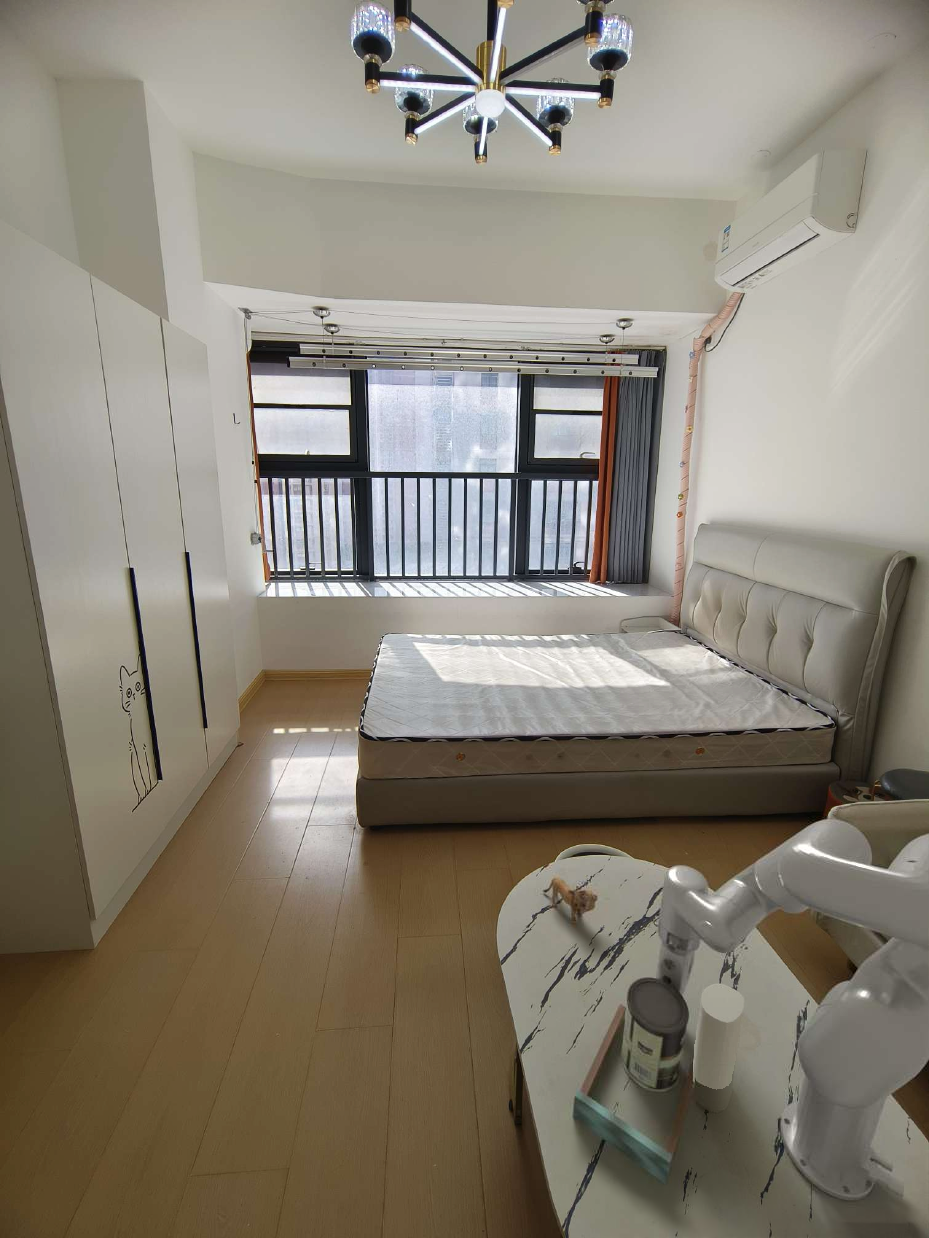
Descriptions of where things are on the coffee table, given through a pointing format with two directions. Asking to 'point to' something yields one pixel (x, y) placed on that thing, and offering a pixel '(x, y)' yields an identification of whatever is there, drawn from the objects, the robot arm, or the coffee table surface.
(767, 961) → the coffee table surface
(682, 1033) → the coffee can
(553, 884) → the lion figurine
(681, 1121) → the bay
